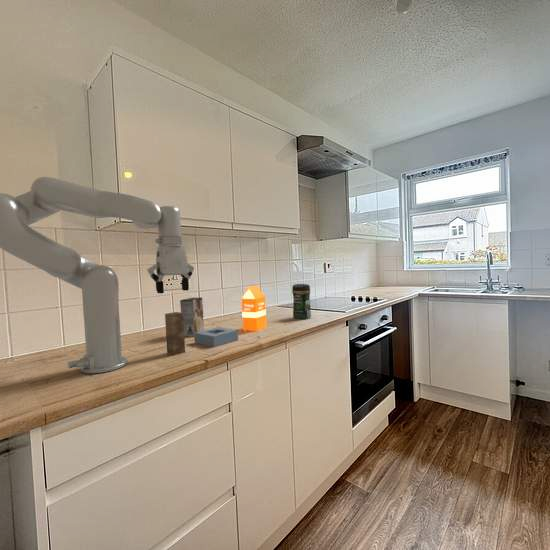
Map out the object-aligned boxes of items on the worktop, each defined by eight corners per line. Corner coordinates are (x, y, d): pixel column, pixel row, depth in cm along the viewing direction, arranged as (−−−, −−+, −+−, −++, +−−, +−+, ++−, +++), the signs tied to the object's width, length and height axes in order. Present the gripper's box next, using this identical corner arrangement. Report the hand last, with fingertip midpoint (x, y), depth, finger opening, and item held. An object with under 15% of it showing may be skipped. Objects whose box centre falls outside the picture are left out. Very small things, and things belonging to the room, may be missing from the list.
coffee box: (191, 331, 139) (189, 297, 139) (204, 331, 138) (202, 297, 138) (181, 336, 130) (179, 299, 130) (195, 336, 129) (193, 299, 129)
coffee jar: (290, 318, 164) (289, 284, 163) (300, 316, 169) (298, 283, 168) (304, 320, 157) (302, 284, 156) (313, 317, 162) (312, 283, 162)
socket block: (214, 347, 111) (213, 336, 111) (195, 342, 118) (194, 332, 118) (238, 340, 120) (237, 330, 120) (218, 336, 128) (218, 327, 127)
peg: (174, 355, 102) (171, 314, 102) (167, 353, 105) (164, 313, 105) (185, 352, 106) (183, 312, 105) (178, 350, 108) (176, 311, 108)
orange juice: (266, 327, 142) (264, 285, 142) (257, 331, 134) (255, 286, 134) (252, 326, 146) (250, 285, 145) (242, 330, 138) (240, 287, 137)
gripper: (152, 241, 95) (155, 294, 96) (197, 242, 108) (200, 289, 109) (140, 243, 100) (144, 294, 101) (185, 244, 113) (188, 289, 114)
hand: (173, 291), depth 105 cm, fingers open, 9 cm apart
